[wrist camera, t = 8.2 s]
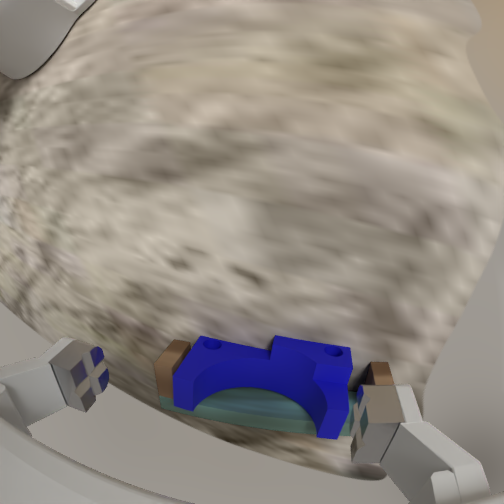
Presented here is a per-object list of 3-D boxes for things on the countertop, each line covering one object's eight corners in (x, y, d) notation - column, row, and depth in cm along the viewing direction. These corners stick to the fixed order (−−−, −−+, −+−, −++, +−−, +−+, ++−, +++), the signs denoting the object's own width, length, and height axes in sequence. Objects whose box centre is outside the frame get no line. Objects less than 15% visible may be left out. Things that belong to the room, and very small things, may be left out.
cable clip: (349, 346, 23) (356, 395, 18) (335, 389, 24) (337, 439, 19) (202, 319, 25) (172, 358, 19) (199, 363, 26) (173, 406, 21)
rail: (174, 339, 26) (153, 364, 22) (387, 362, 23) (396, 392, 19) (178, 381, 27) (161, 408, 23) (374, 404, 24) (379, 436, 20)
